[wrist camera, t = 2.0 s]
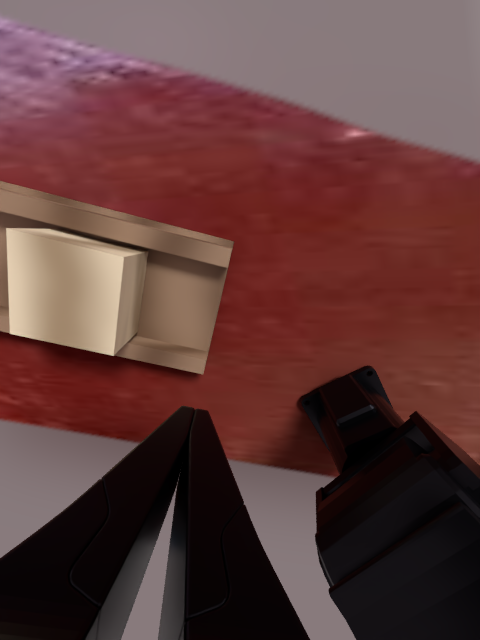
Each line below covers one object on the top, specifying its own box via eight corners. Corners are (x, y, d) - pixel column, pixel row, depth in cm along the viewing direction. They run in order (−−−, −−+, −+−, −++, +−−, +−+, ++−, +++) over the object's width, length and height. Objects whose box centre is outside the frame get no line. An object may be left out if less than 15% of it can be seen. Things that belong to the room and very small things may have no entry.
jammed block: (148, 251, 18) (123, 257, 14) (137, 331, 20) (113, 355, 16) (57, 228, 17) (6, 228, 13) (55, 313, 19) (9, 333, 15)
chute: (234, 241, 18) (233, 242, 16) (205, 365, 21) (202, 379, 19) (-161, 139, 16) (-214, 127, 14) (-129, 293, 19) (-169, 300, 17)
